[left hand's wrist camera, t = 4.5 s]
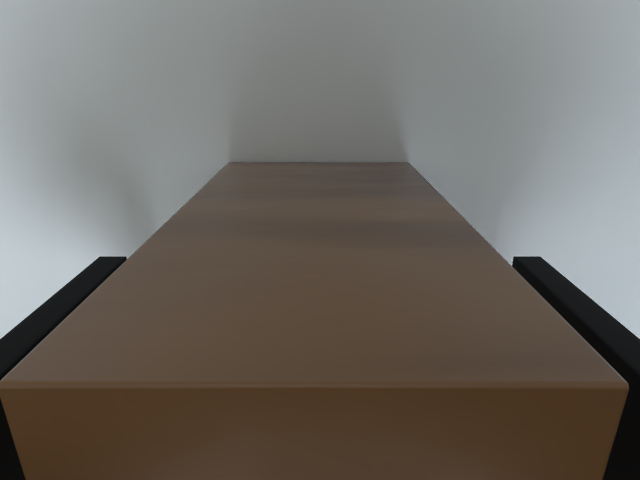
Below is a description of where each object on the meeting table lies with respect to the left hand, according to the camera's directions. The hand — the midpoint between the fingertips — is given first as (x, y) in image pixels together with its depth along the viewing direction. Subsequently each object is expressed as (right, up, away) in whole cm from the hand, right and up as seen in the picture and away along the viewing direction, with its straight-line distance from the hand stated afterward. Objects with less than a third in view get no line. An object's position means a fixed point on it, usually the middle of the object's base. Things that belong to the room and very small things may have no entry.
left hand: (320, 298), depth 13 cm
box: (0, -6, +5) cm, 8 cm away
